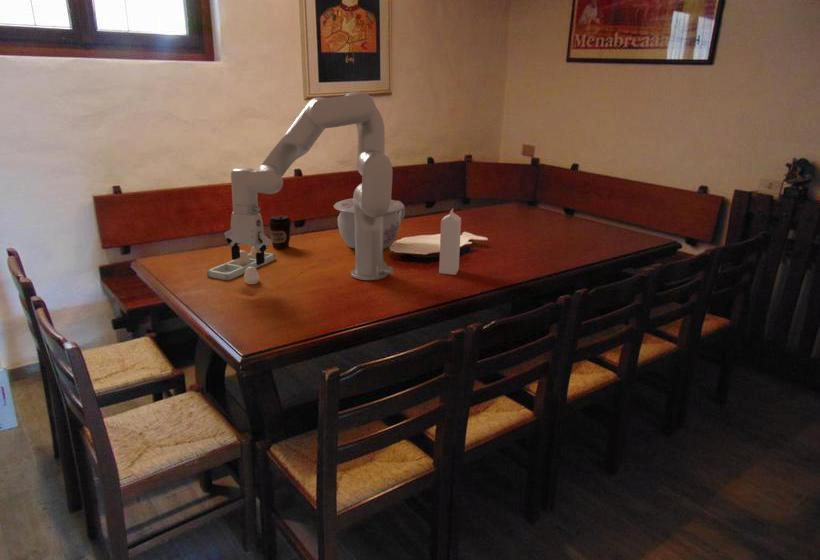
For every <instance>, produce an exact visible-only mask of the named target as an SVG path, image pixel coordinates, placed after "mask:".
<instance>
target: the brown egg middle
mask: <svg viewBox="0 0 820 560" xmlns="http://www.w3.org/2000/svg"><path fill="white" fill-rule="evenodd" d="M248 254H249V253H248V252H247V251H246V250H244V249H240V258H238V259H235V263H236V264H237V265H239V266H245V265H247V264H249V261H250V260H249V257H248Z"/></svg>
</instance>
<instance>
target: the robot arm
mask: <svg viewBox="0 0 820 560" xmlns="http://www.w3.org/2000/svg"><path fill="white" fill-rule="evenodd" d="M350 125H351V126H352V125H356V129H357V156H356V168H357V169H356V170H357V172H358V173H359V174H360V176H361V183H360V184H358V185H357V186H356V188H355V189H354V191H353V195H352V198H353V206H354V216H355V249H354V257H355V258H354V259H355V263H354V264H355V265H354V266H355V267H354V268H352V270H350V275H351V277H352V278H354V279H357V280H361V281H377V280H378V281H379V280H382V279H384V278H386V277H387V276H388V275H392V276H393V274H394V267H393V266H388V265H387V262H386V261H384V249H383V215H385V214H386V213H387V211H388V210H389V207H390V203H391V200H392V189H393V173H394V172H393V165H392V161H391V160H390V158H389V157H388V156H387V154H385V143H386V141H385V140H386V139H385V135H386V133H385V124H384V120H383V117H382V114H381V112H380V111H379V109H378V107H377V106H376V102H375V101H374V98H373V97H372V96H371V95H370V94H368V93H365V92H362V91H359V90H358V91H356V90H353V91H349V92H347V93H346V94H345V95H341V96H335V97H321V96H318V97H314V98H312V99H310V100H309V101H308V103H307V104H306V105H305V107H304V108H303V109H302V111H301V112H300V114H299V115H298V116H297V118H296V119H295V120H294V121H293V123H292V124H291V125H290V127H289V128H288V130H287V131H286V133H285V134H284V135H283V136H282V137H281V138H280V139H279V141H278V142H277V143H276V145H275V146H274V147H273V149H271V151H270V152H269V154H267V157H265V159H264V160H263V162H262V164H261V165H260V166H259V167H258V169H257V170H255V169H254V168H251V167H236V168H233V169H232V170H231V171H230V172H231V173H230V182H231V183H230V184H231V198H232V199H231V200H232V212H231V216H230V229H228V230H226V231H224V233H223V234H224V237H225V241H226V242H227V243H228V245H229V248H231V249H230V250H231V259H232V260H235V259H238V258H240V250H241V248H240V245H244V246H250V247H252V246H254V247H255V249H256V250H257V253H256V264H257V265H260V264H263V263H264V252H266V251H267V249H268V248H269V246H270V243H271V242H272V241H271V238H269V237H268V236H267V235H265V230H264V222H263V218H262V215H261V213H259V212H260V211H261V207H260V206H259V202H258V199H259V198H258V194H259V193H260V194H266V195H273V194H277V193H278V192H280V191H281V189H282V188H283V185H284V179H283V176H284V175H285V174H286V172H287V171H288V169H290V167H291V166H292V165H293V163H294V162H295V161H297V160H298V159H299V158H301V157H303V156H305V155H306V154H307V153H308V152H309V151H310V150H311V148H312V147H313V146H314V145H315V142H316V141H317V140H318V139H319V137H320V136H321V135H322V133H323V132H324V131H325V130H326V129H332V128H340V127H345V126H350ZM258 245H259V246H260V248H259V246H258ZM232 260H231V261H232Z"/></svg>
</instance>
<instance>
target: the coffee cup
mask: <svg viewBox="0 0 820 560" xmlns="http://www.w3.org/2000/svg"><path fill="white" fill-rule="evenodd" d="M291 225H292V219H291V218H290V216H288V215H284V214H283V215H271V216H270V217H269V220H268V226H269V233H270V240H271V241H270V242H271V244H272V248H273V249H274V250H279V251H280V250H287V249H289V248H290V239H291V233H292V232H291V231H292V230H291Z"/></svg>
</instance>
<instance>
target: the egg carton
mask: <svg viewBox="0 0 820 560" xmlns="http://www.w3.org/2000/svg"><path fill="white" fill-rule="evenodd" d="M247 254H248V257H249V260H250V261H249V264H247V265H245V266H239V265H237V264H236V263H235V260H230V261H227V262H225V263H223V264H220V265H217V266H214V267H212V268H210V269H207V270H206V276H207V278H208V277H209V278H214V279H218V280H225V281H230V280H232V279H234V278H237V277H239V276H241V275H244V274H245V270H246V268H248V267H250V266H253V267H255V268H256V269H257V268H259V267H261V266H264V265H266V264H269V263H270V262H273V261H275V260H276V253H272V252H271V253H270V252H266V251H264V263H263V264H260V265H257V264H256V259H252V258H251V256H250V252H249V253H247Z"/></svg>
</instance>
